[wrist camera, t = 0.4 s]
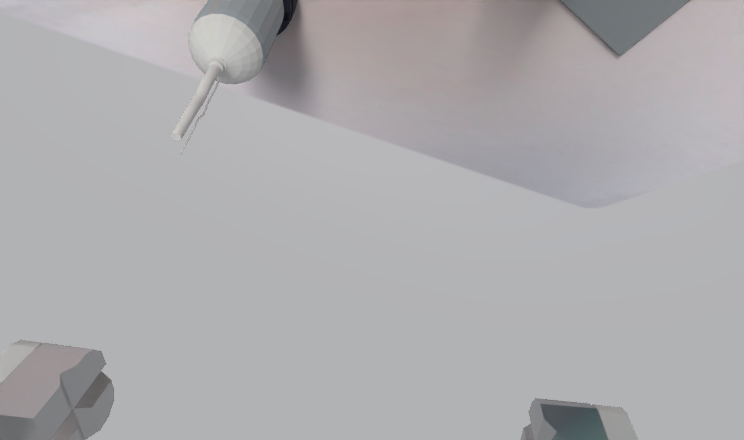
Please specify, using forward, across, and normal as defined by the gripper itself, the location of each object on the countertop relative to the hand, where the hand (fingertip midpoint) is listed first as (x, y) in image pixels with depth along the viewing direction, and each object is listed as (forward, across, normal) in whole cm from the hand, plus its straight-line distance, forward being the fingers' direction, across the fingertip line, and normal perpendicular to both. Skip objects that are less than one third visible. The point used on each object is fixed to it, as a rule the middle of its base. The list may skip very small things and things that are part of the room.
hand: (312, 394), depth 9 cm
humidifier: (+50, +16, -1) cm, 52 cm away
